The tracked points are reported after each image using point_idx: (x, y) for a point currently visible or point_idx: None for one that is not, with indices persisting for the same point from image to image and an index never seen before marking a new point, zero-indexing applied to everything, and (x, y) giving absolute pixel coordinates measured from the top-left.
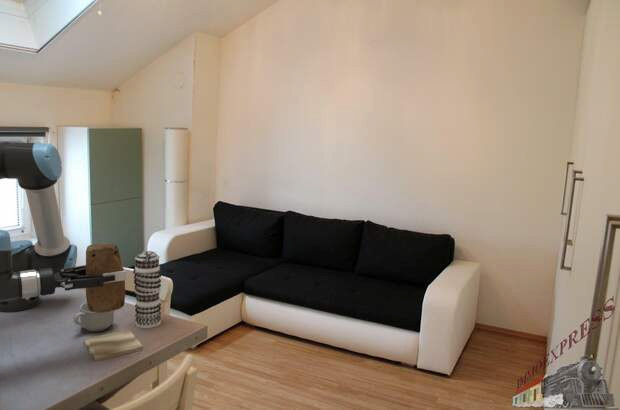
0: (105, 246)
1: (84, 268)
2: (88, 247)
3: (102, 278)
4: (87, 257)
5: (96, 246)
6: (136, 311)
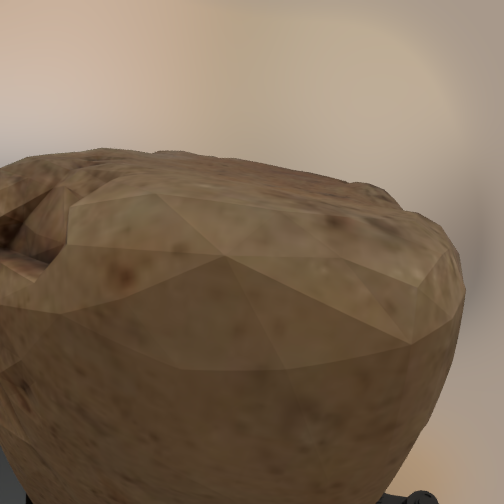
0: (301, 178)
1: (9, 501)
2: (190, 188)
3: (393, 497)
4: (373, 502)
5: (214, 173)
6: None
